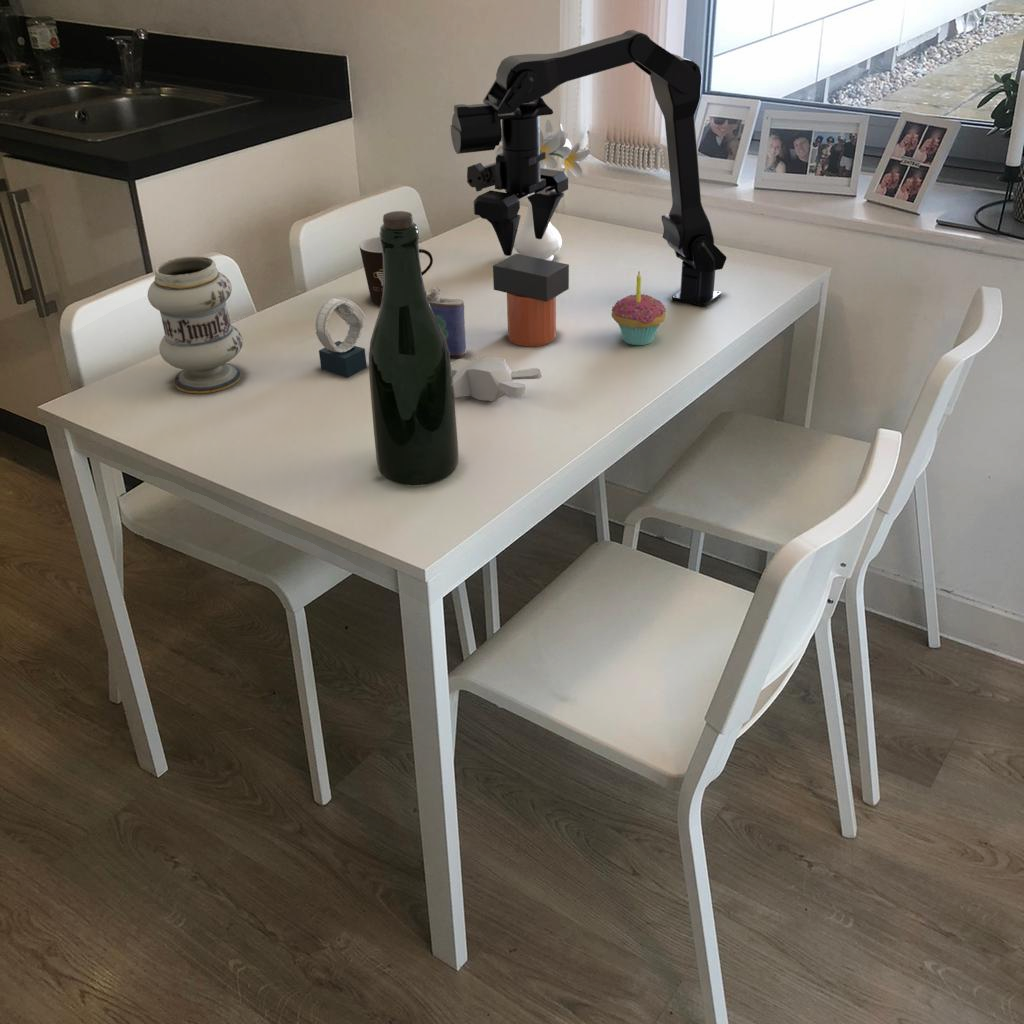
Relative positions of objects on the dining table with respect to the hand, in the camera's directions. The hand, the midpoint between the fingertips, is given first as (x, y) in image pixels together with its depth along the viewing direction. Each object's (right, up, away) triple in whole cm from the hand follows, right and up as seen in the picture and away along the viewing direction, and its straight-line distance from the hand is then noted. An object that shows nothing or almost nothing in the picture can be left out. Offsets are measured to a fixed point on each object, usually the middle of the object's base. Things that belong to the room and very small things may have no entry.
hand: (523, 246), depth 171 cm
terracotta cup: (+1, -14, +2) cm, 14 cm away
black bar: (+1, -7, -2) cm, 8 cm away
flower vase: (+4, +6, +33) cm, 34 cm away
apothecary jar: (-48, -23, -9) cm, 54 cm away
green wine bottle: (-14, -37, -33) cm, 51 cm away
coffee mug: (-22, -6, +17) cm, 28 cm away
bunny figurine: (-6, -26, -15) cm, 30 cm away
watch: (-28, -20, -7) cm, 35 cm away
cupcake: (+18, -15, 0) cm, 24 cm away
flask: (-13, -18, -3) cm, 22 cm away
